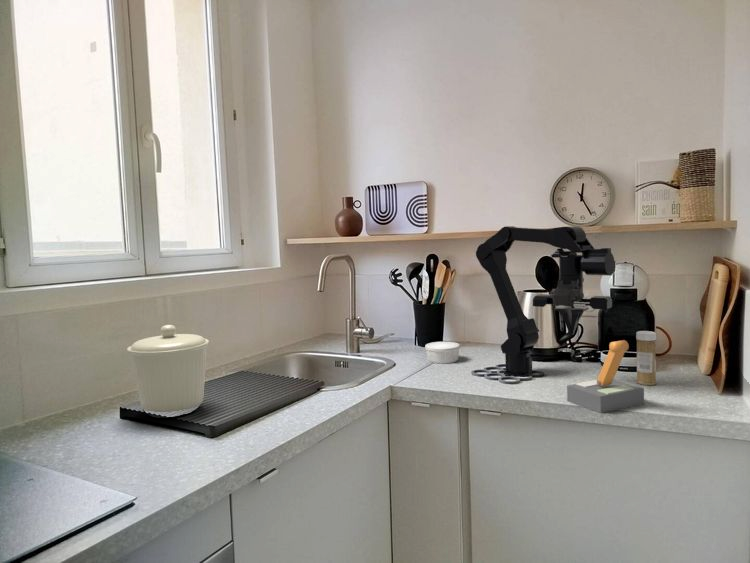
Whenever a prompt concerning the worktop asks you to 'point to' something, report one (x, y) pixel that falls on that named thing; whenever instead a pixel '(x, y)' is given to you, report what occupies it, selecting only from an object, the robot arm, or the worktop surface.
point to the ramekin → (442, 352)
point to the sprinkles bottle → (646, 357)
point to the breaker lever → (612, 362)
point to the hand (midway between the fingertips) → (571, 334)
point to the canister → (169, 370)
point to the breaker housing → (605, 395)
